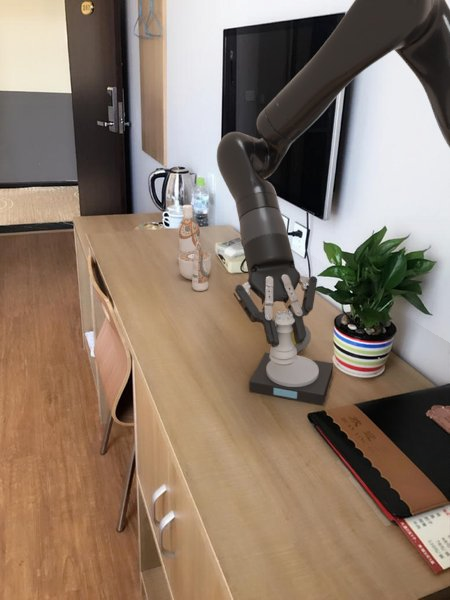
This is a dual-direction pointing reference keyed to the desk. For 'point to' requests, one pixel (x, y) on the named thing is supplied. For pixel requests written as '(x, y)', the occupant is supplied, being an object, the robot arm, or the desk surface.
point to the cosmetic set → (192, 252)
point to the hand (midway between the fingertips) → (288, 343)
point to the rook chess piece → (284, 340)
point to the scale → (293, 379)
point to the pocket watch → (305, 342)
